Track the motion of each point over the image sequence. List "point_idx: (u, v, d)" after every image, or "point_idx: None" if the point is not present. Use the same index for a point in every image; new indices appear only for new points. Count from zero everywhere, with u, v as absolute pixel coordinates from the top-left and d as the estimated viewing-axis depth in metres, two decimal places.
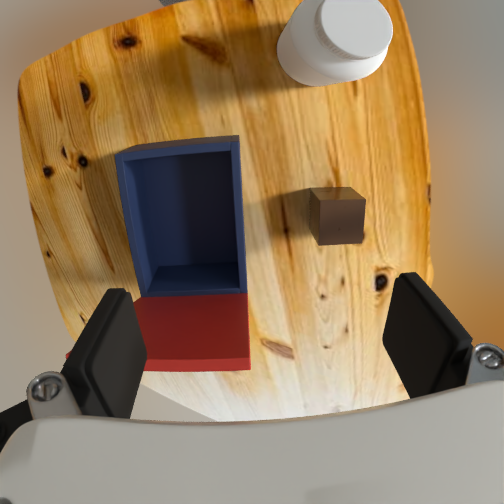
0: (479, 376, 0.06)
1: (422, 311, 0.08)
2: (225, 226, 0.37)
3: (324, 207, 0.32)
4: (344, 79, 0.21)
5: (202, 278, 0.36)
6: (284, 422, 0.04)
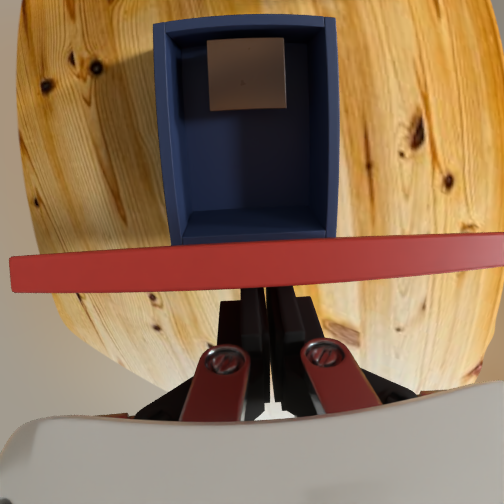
0: (327, 381, 0.06)
1: None
2: (293, 152, 0.26)
3: (214, 50, 0.18)
4: None
5: (264, 221, 0.24)
6: (284, 422, 0.04)
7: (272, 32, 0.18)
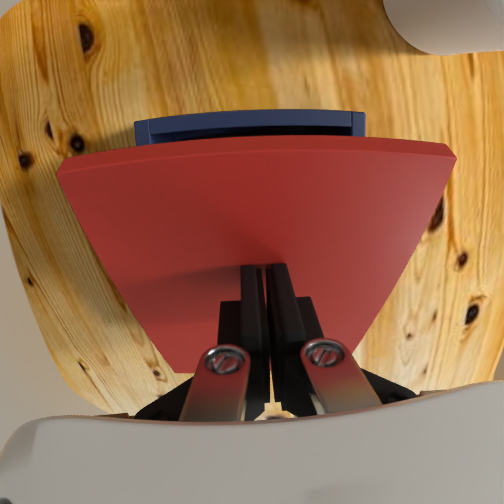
0: (327, 381, 0.06)
1: None
2: None
3: None
4: None
5: None
6: (284, 422, 0.04)
7: None
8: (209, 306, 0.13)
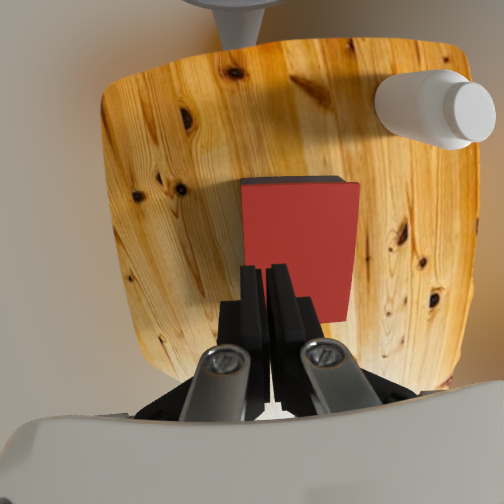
0: (327, 381, 0.06)
1: None
2: None
3: None
4: (450, 149, 0.25)
5: None
6: (284, 422, 0.04)
7: None
8: (280, 256, 0.33)
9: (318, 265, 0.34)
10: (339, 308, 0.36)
